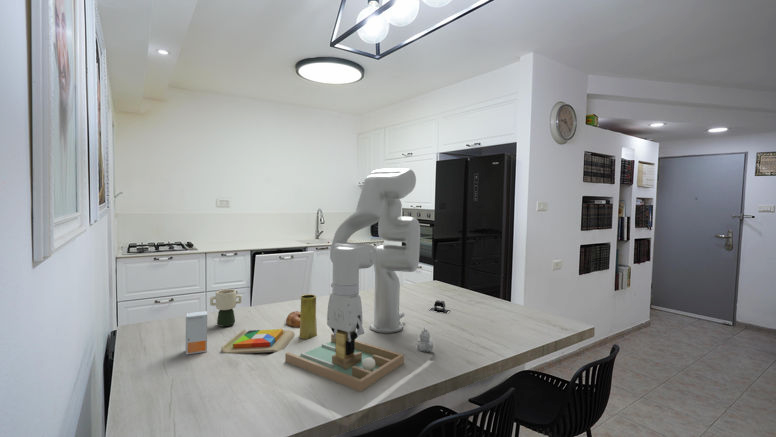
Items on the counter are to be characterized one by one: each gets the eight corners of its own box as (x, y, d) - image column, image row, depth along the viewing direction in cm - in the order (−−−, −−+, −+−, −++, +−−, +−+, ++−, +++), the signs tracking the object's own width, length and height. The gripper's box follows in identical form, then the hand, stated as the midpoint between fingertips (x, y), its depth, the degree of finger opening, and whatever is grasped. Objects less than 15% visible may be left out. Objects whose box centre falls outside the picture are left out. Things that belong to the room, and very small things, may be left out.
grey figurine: (425, 347, 121) (425, 323, 121) (438, 354, 116) (439, 329, 115) (412, 350, 118) (413, 326, 118) (425, 358, 113) (426, 332, 112)
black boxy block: (455, 311, 163) (455, 301, 163) (450, 316, 156) (451, 305, 156) (428, 307, 168) (429, 297, 168) (423, 311, 162) (423, 301, 161)
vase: (312, 340, 125) (313, 299, 125) (296, 338, 127) (296, 297, 126) (319, 333, 131) (319, 294, 131) (303, 332, 133) (304, 293, 132)
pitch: (333, 344, 122) (333, 333, 122) (403, 366, 106) (404, 354, 106) (285, 365, 106) (285, 353, 106) (360, 396, 90) (360, 382, 90)
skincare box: (185, 355, 111) (185, 316, 111) (185, 350, 115) (185, 313, 115) (207, 352, 114) (207, 314, 114) (207, 347, 118) (207, 310, 117)
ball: (372, 370, 102) (365, 359, 104) (380, 365, 101) (373, 353, 102) (364, 375, 100) (357, 363, 101) (372, 369, 98) (365, 357, 99)
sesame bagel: (309, 328, 137) (309, 319, 137) (280, 327, 138) (280, 318, 138) (317, 318, 149) (317, 309, 149) (290, 317, 150) (290, 308, 150)
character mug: (241, 320, 144) (241, 288, 144) (241, 326, 138) (241, 292, 137) (210, 323, 140) (210, 290, 139) (209, 329, 133) (209, 294, 133)
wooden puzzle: (243, 334, 131) (243, 324, 131) (295, 335, 130) (295, 326, 130) (219, 354, 114) (219, 343, 114) (279, 356, 113) (279, 345, 113)
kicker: (346, 355, 110) (346, 326, 110) (361, 360, 107) (362, 330, 106) (330, 363, 104) (330, 332, 104) (345, 369, 101) (346, 337, 101)
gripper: (315, 287, 107) (315, 349, 107) (359, 296, 97) (358, 364, 98) (333, 282, 113) (333, 341, 114) (376, 291, 103) (375, 354, 104)
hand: (344, 351), depth 106 cm, fingers closed on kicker, 3 cm apart
